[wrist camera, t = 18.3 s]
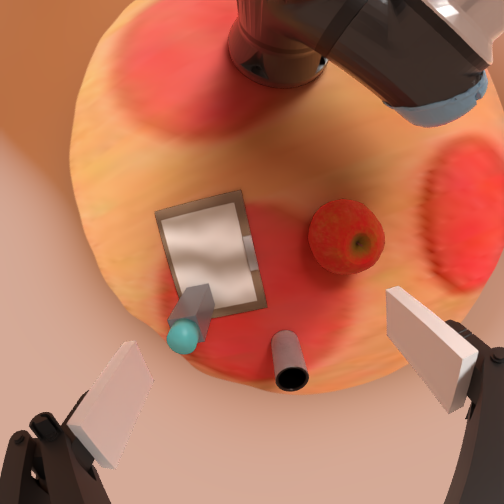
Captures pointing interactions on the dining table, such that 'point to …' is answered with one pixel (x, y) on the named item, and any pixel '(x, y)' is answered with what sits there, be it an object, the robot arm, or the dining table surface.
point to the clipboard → (213, 251)
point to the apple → (345, 237)
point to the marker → (190, 319)
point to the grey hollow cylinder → (288, 361)
